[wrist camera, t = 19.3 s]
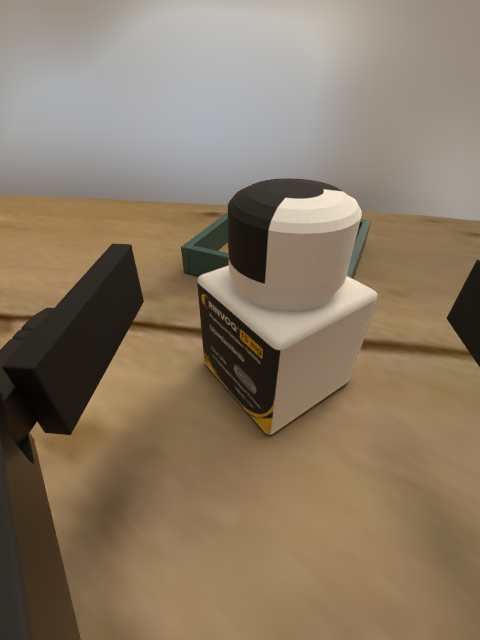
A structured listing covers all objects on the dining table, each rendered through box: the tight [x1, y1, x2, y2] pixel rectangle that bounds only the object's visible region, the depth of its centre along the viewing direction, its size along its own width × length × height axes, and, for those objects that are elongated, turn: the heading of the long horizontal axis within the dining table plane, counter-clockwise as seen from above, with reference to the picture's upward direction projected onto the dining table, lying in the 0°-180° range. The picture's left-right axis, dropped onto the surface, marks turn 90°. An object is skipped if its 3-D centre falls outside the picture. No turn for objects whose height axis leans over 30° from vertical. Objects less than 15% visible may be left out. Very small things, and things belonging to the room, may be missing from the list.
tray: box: [181, 213, 371, 279], centre depth 34 cm, size 16×15×3 cm
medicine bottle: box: [197, 179, 377, 435], centre depth 18 cm, size 7×7×12 cm
